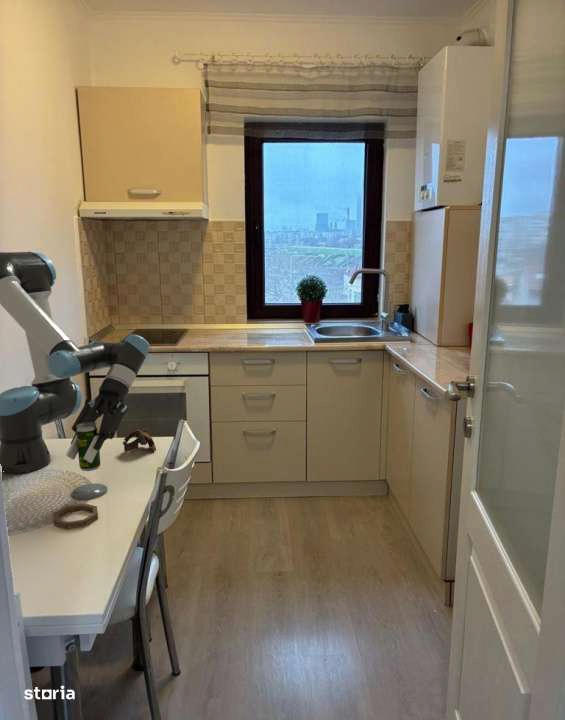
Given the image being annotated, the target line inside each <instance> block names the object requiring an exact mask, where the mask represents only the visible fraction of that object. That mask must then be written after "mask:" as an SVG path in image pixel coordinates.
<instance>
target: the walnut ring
mask: <svg viewBox="0 0 565 720" xmlns="http://www.w3.org/2000/svg"><path fill="white" fill-rule="evenodd" d="M78 512H87V513H91V514H90V515H88V516H86V517H85V518H83V519H78V520H73V521H72V520H71V521H66V520H63V519H61V518H62V517H64V516H66V515H68V514H71V513H78ZM98 519H99V512H98V506H96V505H93V504H89V503H79V504H78V503H77V504H71V505H67V506H64V507H62V508H60V509H59V510H57V511H55V512H54V513H53V527H56V528H58V529H61V530H66V531H67V530H68V531H69V530H75V529H80V528H86V527H88V526H90V525H92V524H93V523H95V522H96V521H98Z"/></svg>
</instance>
